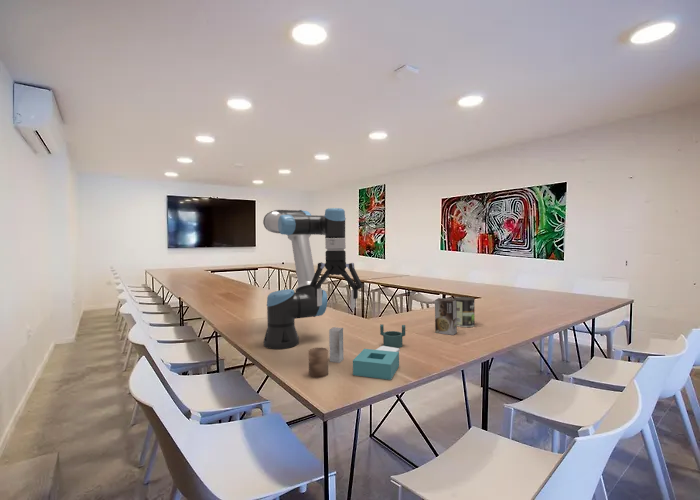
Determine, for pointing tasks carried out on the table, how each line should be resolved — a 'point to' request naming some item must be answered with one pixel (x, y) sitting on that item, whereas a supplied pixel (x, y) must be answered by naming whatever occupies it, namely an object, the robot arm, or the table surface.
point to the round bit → (318, 362)
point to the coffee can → (465, 311)
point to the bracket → (392, 337)
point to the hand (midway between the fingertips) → (336, 306)
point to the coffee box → (445, 316)
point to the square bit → (336, 344)
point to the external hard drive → (388, 349)
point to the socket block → (376, 364)
